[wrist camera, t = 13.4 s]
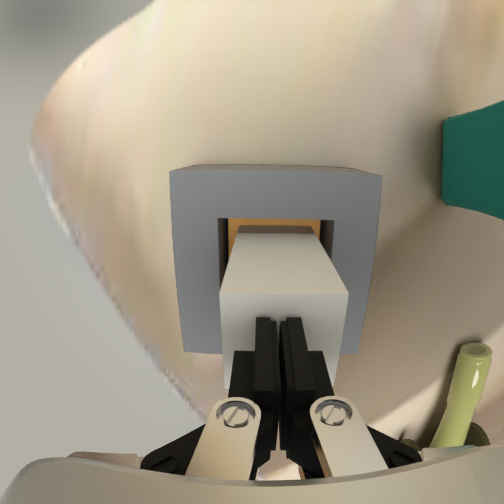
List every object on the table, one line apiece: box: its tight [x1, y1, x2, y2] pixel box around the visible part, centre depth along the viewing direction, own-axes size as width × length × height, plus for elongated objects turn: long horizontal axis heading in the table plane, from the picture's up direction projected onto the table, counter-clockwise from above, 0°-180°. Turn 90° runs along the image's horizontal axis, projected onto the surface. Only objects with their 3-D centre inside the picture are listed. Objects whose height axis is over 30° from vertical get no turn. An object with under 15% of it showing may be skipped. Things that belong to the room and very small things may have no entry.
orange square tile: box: [228, 218, 321, 258], centre depth 21 cm, size 6×6×1 cm
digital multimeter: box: [441, 100, 504, 220], centre depth 15 cm, size 7×15×3 cm
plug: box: [219, 225, 349, 389], centre depth 16 cm, size 5×5×10 cm
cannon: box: [400, 342, 492, 451], centre depth 26 cm, size 25×12×11 cm, turn 3°
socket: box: [170, 164, 382, 354], centre depth 22 cm, size 12×12×6 cm
